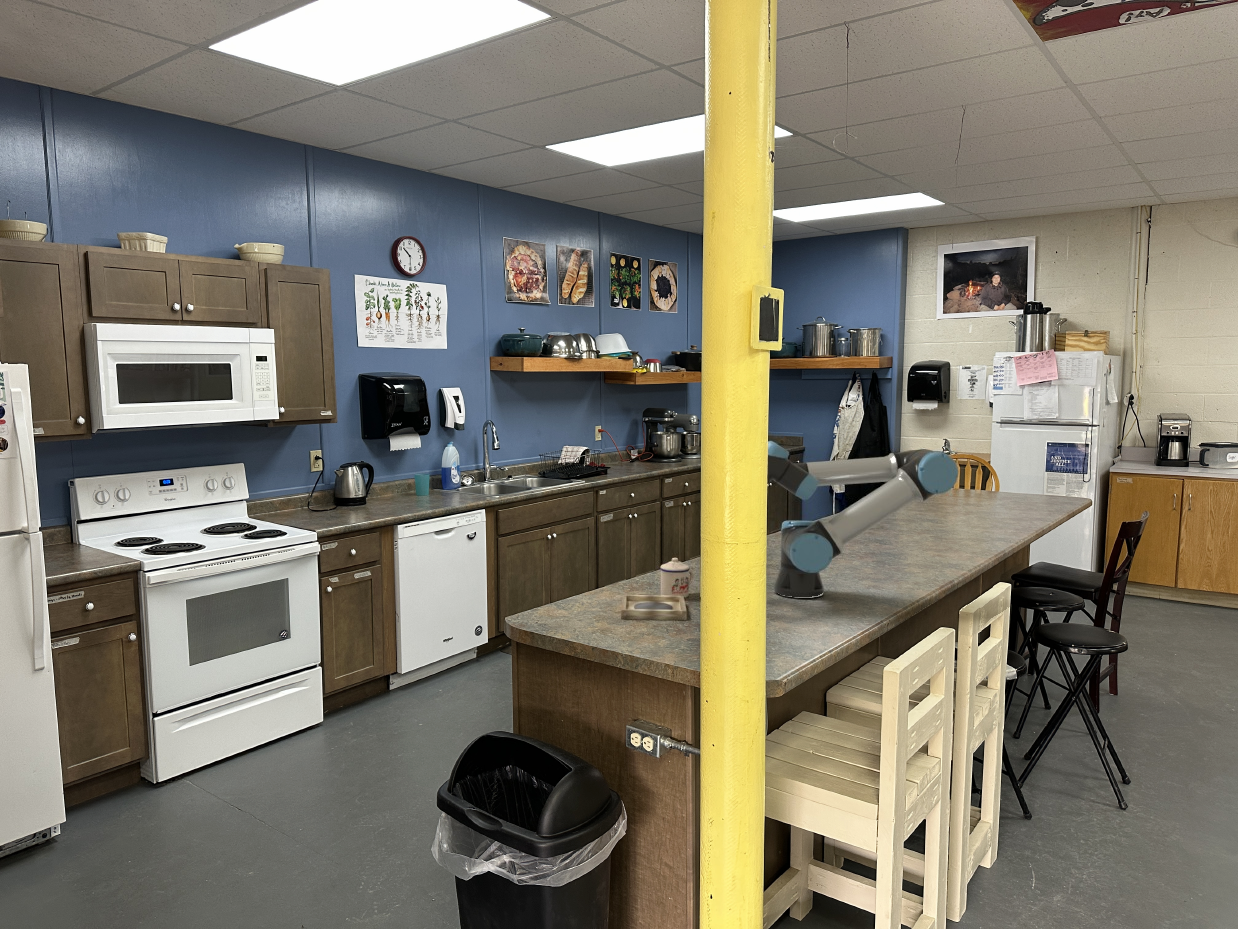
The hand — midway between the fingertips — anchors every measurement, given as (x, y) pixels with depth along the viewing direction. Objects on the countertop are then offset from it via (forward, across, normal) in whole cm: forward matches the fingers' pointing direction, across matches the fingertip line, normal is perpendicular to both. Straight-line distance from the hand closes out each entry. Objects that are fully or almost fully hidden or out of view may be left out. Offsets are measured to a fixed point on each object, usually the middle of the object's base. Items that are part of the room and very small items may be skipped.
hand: (709, 548), depth 245 cm
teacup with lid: (+19, -9, 0) cm, 21 cm away
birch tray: (+23, +12, -3) cm, 26 cm away
